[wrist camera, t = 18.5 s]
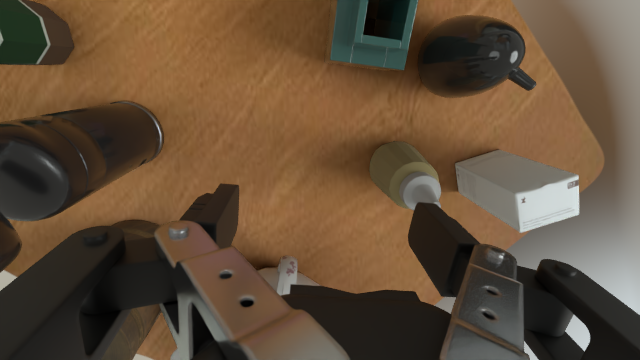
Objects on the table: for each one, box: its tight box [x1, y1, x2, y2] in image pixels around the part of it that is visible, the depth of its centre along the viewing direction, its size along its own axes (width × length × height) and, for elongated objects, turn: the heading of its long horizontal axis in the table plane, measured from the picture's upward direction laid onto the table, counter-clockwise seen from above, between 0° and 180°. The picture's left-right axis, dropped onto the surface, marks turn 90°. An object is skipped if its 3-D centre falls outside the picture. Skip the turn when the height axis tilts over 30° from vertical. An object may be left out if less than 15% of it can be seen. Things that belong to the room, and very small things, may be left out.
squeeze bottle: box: [369, 141, 441, 210], centre depth 40 cm, size 8×8×18 cm
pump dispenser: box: [418, 15, 536, 98], centre depth 37 cm, size 10×10×15 cm
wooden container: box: [101, 220, 161, 360], centre depth 42 cm, size 15×15×22 cm
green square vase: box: [324, 0, 418, 71], centre depth 35 cm, size 9×9×14 cm
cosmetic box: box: [455, 150, 579, 233], centre depth 43 cm, size 8×6×15 cm
